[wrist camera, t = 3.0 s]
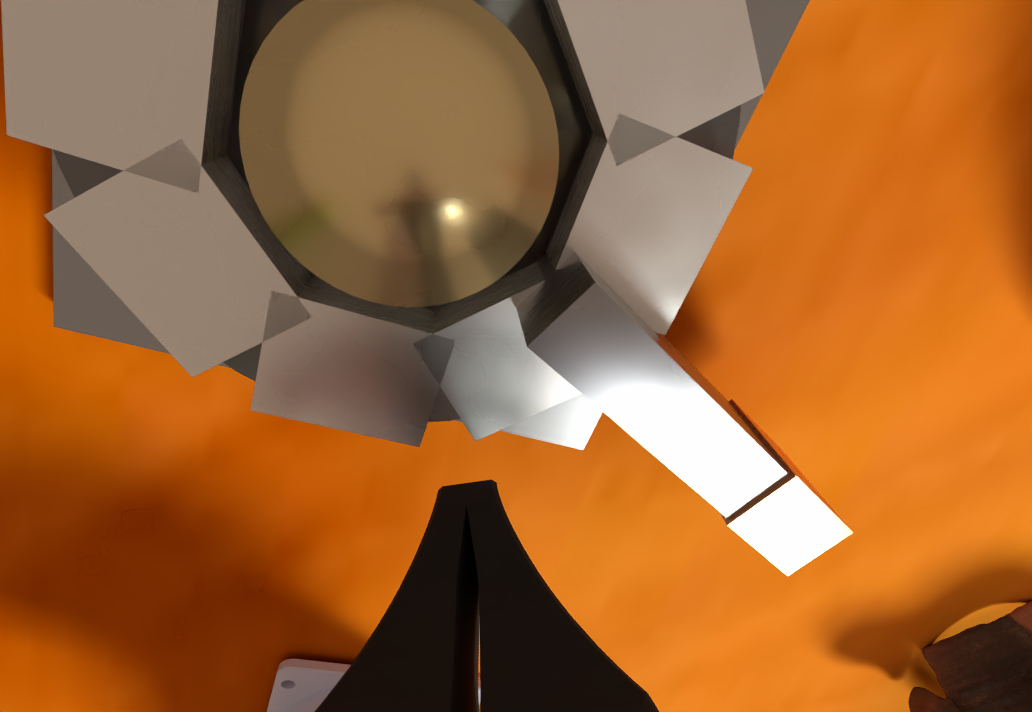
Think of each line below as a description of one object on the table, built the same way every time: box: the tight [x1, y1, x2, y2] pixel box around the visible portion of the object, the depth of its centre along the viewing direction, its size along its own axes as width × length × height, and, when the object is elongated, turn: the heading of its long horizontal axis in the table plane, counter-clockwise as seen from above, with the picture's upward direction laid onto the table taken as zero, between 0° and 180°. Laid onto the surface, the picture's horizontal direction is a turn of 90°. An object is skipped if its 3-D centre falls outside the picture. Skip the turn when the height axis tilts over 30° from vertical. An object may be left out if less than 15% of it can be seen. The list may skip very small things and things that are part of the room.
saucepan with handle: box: [1, 0, 853, 576], centre depth 10 cm, size 12×18×3 cm
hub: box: [52, 0, 810, 450], centre depth 10 cm, size 14×14×5 cm
